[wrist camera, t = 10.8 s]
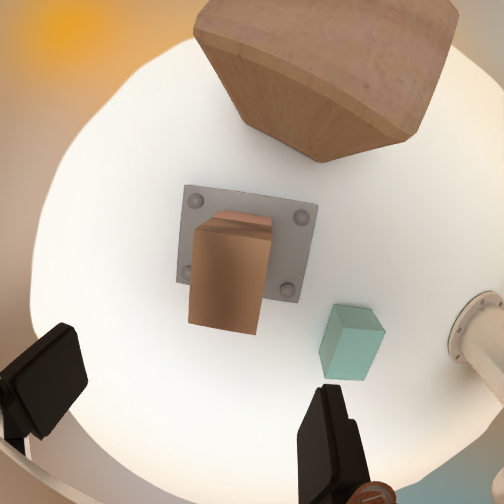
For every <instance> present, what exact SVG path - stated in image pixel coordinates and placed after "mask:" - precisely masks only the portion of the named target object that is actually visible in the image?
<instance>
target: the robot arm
mask: <svg viewBox="0 0 504 504" xmlns="http://www.w3.org/2000/svg"><path fill="white" fill-rule="evenodd" d="M448 349H449V354H450V356H451V357H452V358H453V360H454V361H456V362H457V363H461V364H463V363H468V362H469V363H470V365H471V366H472V367H473V368H474V369H475V371H476V372H477V373H478V374H479V376H480V377H481V378H482V379H483V380H484V382H485V383H486V384H487V386H488V387H489V388H490V389H491V391H492V392H493V393H494V395H495V396H496V397H497V399H498V400H499V401H500V403H501V404H502V405H503V407H504V302H503V300H502V298H501V297H500V296H499V295H498V294H496V293H495V292H485V293H482V294H480V295H479V296H477V297H476V298H474V299H473V300H472V301H471V302H470V303H469V304H468V305H467V306H466V307H465V308H464V310H463V311H462V312H461V314H460V315H459V317H458V319H457V320H456V322H455V324H454V326H453V329H452V331H451V334H450V338H449V345H448ZM0 377H1V379H0V504H103V503H100V502H98V501H96V500H94V499H92V498H90V497H88V496H86V495H84V494H83V493H80V492H79V491H77V490H75V489H74V488H72V487H70V486H68V485H67V484H65V483H63V482H61V481H60V480H58V479H57V478H55V477H54V476H52V475H51V474H49V473H48V472H46V471H45V470H43V469H42V468H40V467H39V466H37V465H36V464H35V463H33V462H32V461H31V454H30V446H29V437H28V435H29V434H30V432H31V433H32V434H33V435H34V436H36V437H37V438H38V439H40V440H42V439H43V438H44V437H46V436H48V435H49V434H50V433H51V431H52V430H53V429H54V427H55V426H56V425H57V423H58V422H59V421H60V420H61V418H62V417H63V416H64V414H65V413H66V412H67V410H68V409H69V408H70V407H71V405H72V404H73V403H74V402H75V400H76V399H77V398H78V397H79V395H80V394H81V393H82V392H83V390H84V389H85V388H86V386H87V384H88V378H87V374H86V370H85V367H84V363H83V359H82V354H81V350H80V345H79V341H78V336H77V333H76V332H75V329H74V327H72V326H70V325H67V324H65V323H63V322H61V323H59V324H58V325H56V326H55V327H54V328H52V329H51V330H50V331H49V332H47V333H46V334H45V335H44V336H43V337H41V338H40V339H39V340H38V341H37V342H35V343H34V344H33V345H32V346H30V347H29V348H28V349H27V350H26V351H24V352H23V353H22V354H21V355H20V356H18V357H17V358H16V359H15V360H14V361H13V362H12V363H10V364H9V365H8V366H7V367H6V368H5V369H4V370H2V371H1V372H0ZM297 457H298V496H299V504H397V503H396V494H395V492H394V490H393V489H392V488H391V487H390V486H389V485H387V484H386V483H383V482H379V481H372V482H371V480H370V476H369V471H368V467H367V462H366V458H365V454H364V450H363V446H362V442H361V438H360V434H359V430H358V426H357V423H356V421H355V420H354V419H349V418H348V414H347V410H346V406H345V402H344V398H343V394H342V390H341V387H340V385H334V384H323V386H322V388H320V387H318V388H317V389H316V391H315V394H314V396H313V399H312V401H311V403H310V406H309V408H308V410H307V413H306V415H305V417H304V419H303V421H302V424H301V426H300V428H299V430H298V433H297ZM491 496H492V501H493V503H494V504H504V467H503V468H502V469H501V471H500V472H499V473H498V474H497V476H496V477H495V479H494V481H493V483H492V488H491Z"/></svg>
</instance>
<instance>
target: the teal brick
mask: <svg viewBox="0 0 504 504" xmlns="http://www.w3.org/2000/svg"><path fill="white" fill-rule="evenodd" d="M385 332H386V331H385V330H384V328H383V327H382V325H381V324H380V322H379V321H378V319H377V318H376V316H375V315H374V313H373V312H372V310H371V309H365V308H357V307H349V306H341V305H333V309H332V312H331V315H330V319H329V322H328V325H327V328H326V331H325V335H324V338H323V341H322V344H321V347H320V350H319V355H320V359H321V364H322V368H323V373H324V377H325V379H338V380H364V379H365V377H366V375H367V373H368V371H369V369H370V366H371V364H372V362H373V360H374V358H375V355H376V353H377V351H378V349H379V346H380V344H381V341H382V339H383V337H384V334H385Z"/></svg>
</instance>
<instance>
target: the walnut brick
mask: <svg viewBox="0 0 504 504" xmlns="http://www.w3.org/2000/svg"><path fill="white" fill-rule="evenodd" d="M271 242H272V226H269V225H262V224H256V223H249V222H242V221H236V220H229V219H222V218H215V217H212V218H210V219H209V220H208V221H206V222H205V223H203V224H202V225H200V226H199V227H197V228H196V229H194V239H193V251H192V264H191V279H190V295H189V316H188V323H191V324H195V325H200V326H206V327H211V328H216V329H222V330H227V331H233V332H239V333H245V334H251V335H256V330H257V324H258V319H259V313H260V307H261V301H262V296H263V290H264V284H265V278H266V272H267V266H268V260H269V254H270V248H271Z"/></svg>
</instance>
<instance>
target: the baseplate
mask: <svg viewBox="0 0 504 504" xmlns="http://www.w3.org/2000/svg"><path fill="white" fill-rule="evenodd" d="M317 210H318V205H316V204H310V203H305V202H299V201H294V200H288V199H282V198H276V197H270V196H264V195H258V194H251V193H245V192H238V191H231V190H223V189H216V188H208V187H200V186H192V185H184V194H183V203H182V212H181V223H180V234H179V246H178V260H177V277H176V282H177V283H182V284H187V285H190V279H191V264H192V251H193V239H194V229H196V228H197V227H199V226H200V225H202V224H203V223H205V222H206V221H208V220H209V219H210V218H212V217H215V218H222V219H229V220H236V221H242V222H249V223H256V224H262V225H269V226H272V242H271V248H270V254H269V260H268V266H267V272H266V278H265V284H264V290H263V296H262V298H266V299H272V300H279V301H285V302H292V303H298V300H299V296H300V292H301V287H302V283H303V278H304V274H305V269H306V265H307V260H308V255H309V251H310V246H311V241H312V236H313V231H314V226H315V220H316V215H317Z"/></svg>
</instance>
